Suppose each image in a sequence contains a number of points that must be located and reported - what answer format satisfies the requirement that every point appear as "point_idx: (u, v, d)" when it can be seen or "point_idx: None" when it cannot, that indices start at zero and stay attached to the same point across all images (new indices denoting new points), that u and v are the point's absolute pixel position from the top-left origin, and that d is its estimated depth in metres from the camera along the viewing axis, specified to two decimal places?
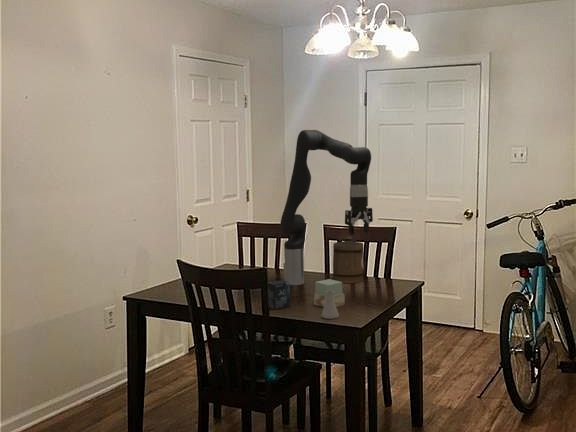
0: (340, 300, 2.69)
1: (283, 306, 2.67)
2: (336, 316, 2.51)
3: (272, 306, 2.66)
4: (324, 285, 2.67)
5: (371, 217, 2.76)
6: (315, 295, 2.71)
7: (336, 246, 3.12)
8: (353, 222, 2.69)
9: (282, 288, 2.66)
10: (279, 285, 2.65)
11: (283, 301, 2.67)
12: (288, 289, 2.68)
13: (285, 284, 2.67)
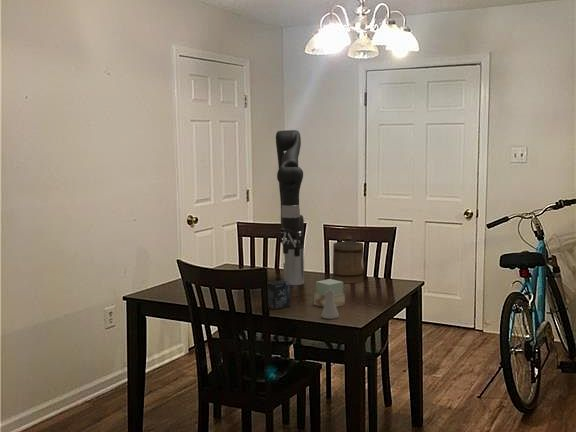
0: (341, 300, 2.69)
1: (283, 306, 2.67)
2: (336, 316, 2.51)
3: (272, 306, 2.66)
4: (325, 285, 2.67)
5: None
6: (315, 295, 2.71)
7: (336, 246, 3.12)
8: (299, 243, 2.64)
9: (282, 288, 2.66)
10: (279, 285, 2.65)
11: (283, 301, 2.67)
12: (288, 289, 2.68)
13: (285, 284, 2.67)
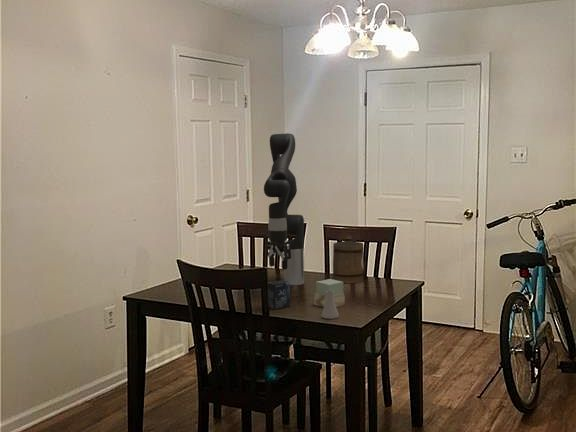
0: (340, 300, 2.69)
1: (283, 306, 2.67)
2: (336, 316, 2.51)
3: (272, 306, 2.66)
4: (325, 285, 2.67)
5: None
6: (315, 295, 2.71)
7: (336, 246, 3.12)
8: None
9: (282, 288, 2.66)
10: (279, 285, 2.65)
11: (283, 301, 2.67)
12: (288, 289, 2.68)
13: (285, 284, 2.67)
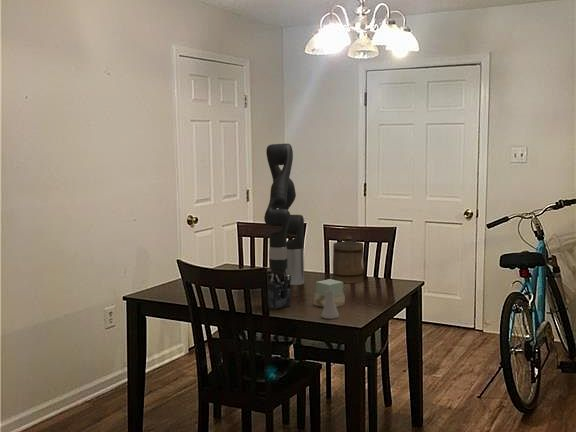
0: (340, 300, 2.69)
1: (283, 306, 2.67)
2: (336, 316, 2.51)
3: (272, 306, 2.66)
4: (325, 285, 2.67)
5: None
6: (315, 295, 2.71)
7: (336, 246, 3.12)
8: None
9: None
10: (279, 285, 2.65)
11: (283, 301, 2.67)
12: (288, 289, 2.68)
13: None
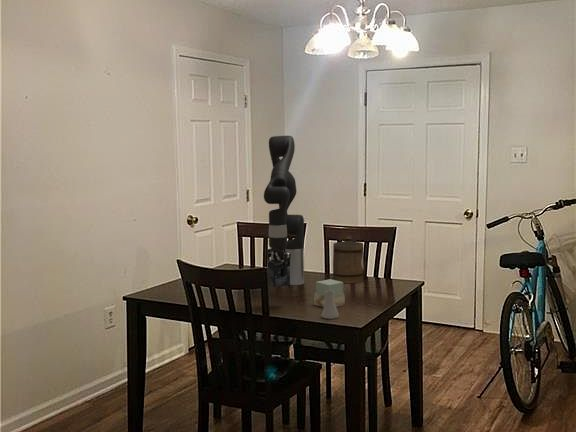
0: (340, 300, 2.69)
1: (283, 284, 2.67)
2: (336, 316, 2.51)
3: (272, 284, 2.66)
4: (325, 285, 2.66)
5: None
6: (315, 295, 2.71)
7: (336, 246, 3.12)
8: (286, 263, 2.65)
9: None
10: (279, 263, 2.64)
11: (283, 279, 2.66)
12: (288, 267, 2.67)
13: None
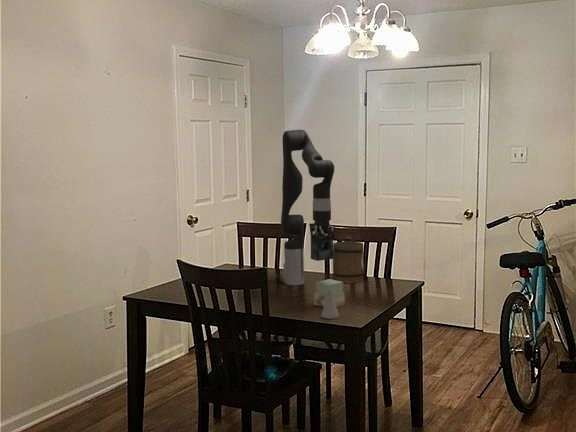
0: (340, 300, 2.70)
1: (326, 258, 2.67)
2: (336, 316, 2.51)
3: (315, 258, 2.66)
4: (325, 285, 2.66)
5: None
6: (315, 295, 2.71)
7: (336, 246, 3.12)
8: None
9: None
10: (323, 237, 2.65)
11: (326, 253, 2.67)
12: (331, 241, 2.67)
13: None
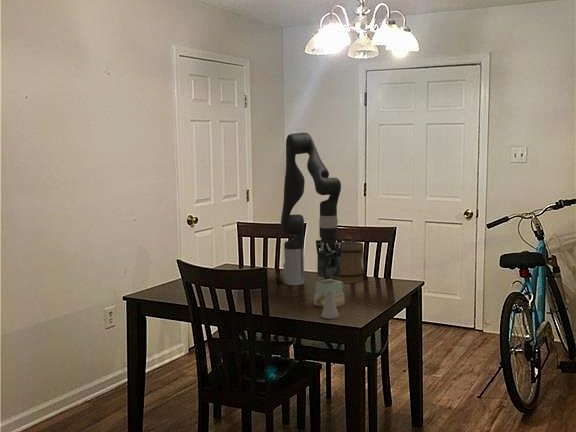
0: (340, 300, 2.70)
1: (333, 275, 2.68)
2: (336, 316, 2.51)
3: (322, 274, 2.67)
4: (325, 285, 2.67)
5: None
6: (315, 295, 2.71)
7: None
8: None
9: None
10: (329, 254, 2.66)
11: (333, 270, 2.68)
12: (338, 258, 2.69)
13: None
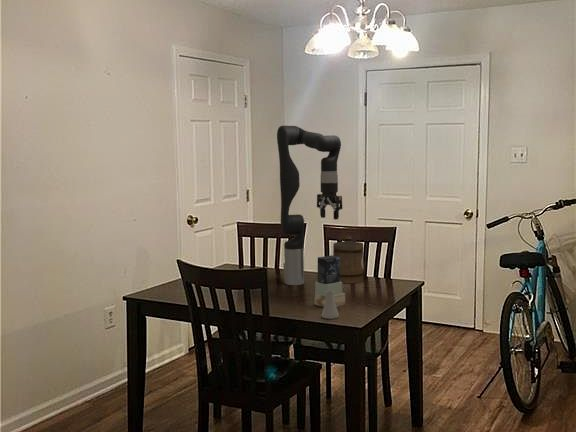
0: (341, 300, 2.70)
1: (333, 281, 2.69)
2: (336, 316, 2.51)
3: (323, 281, 2.67)
4: (324, 285, 2.67)
5: None
6: (316, 295, 2.71)
7: (336, 246, 3.12)
8: None
9: (333, 263, 2.67)
10: (330, 260, 2.66)
11: (333, 276, 2.68)
12: (338, 264, 2.69)
13: (335, 259, 2.68)
